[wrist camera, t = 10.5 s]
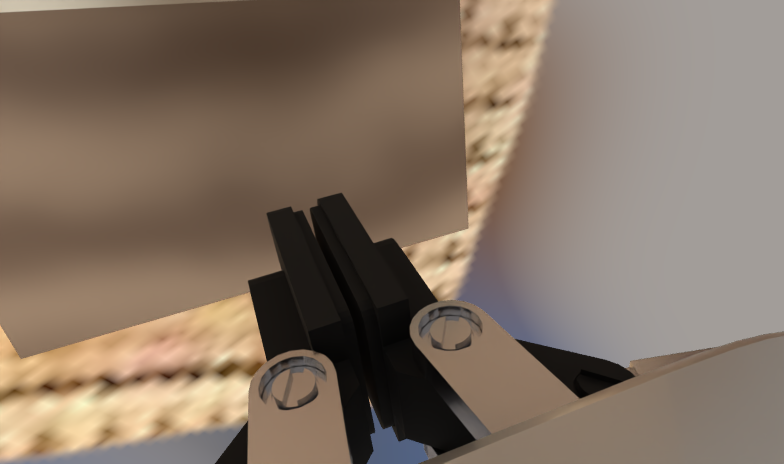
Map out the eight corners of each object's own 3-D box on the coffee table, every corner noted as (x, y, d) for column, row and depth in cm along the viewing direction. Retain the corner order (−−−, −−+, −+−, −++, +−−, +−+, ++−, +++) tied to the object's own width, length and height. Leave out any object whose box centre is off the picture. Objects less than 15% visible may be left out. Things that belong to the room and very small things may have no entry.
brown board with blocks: (-378, -398, 13) (-751, -622, 8) (410, -388, 18) (516, -520, 13) (32, 322, 24) (-3, 433, 19) (446, 206, 29) (511, 269, 24)
